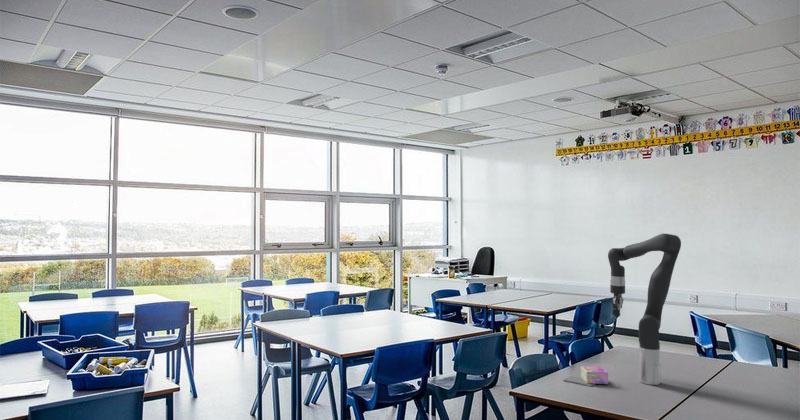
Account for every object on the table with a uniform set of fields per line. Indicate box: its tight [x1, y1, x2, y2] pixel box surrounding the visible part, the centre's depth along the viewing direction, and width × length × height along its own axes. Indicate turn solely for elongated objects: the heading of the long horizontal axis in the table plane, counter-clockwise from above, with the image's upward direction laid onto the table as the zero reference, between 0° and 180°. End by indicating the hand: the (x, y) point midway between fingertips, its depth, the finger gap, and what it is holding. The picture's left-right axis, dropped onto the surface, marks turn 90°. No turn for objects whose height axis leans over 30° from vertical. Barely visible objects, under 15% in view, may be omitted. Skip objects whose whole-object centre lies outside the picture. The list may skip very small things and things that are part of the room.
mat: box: [563, 375, 596, 388], centre depth 267 cm, size 14×10×1 cm
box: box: [580, 365, 609, 385], centre depth 267 cm, size 10×6×12 cm
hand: (617, 316), depth 292 cm, fingers closed
